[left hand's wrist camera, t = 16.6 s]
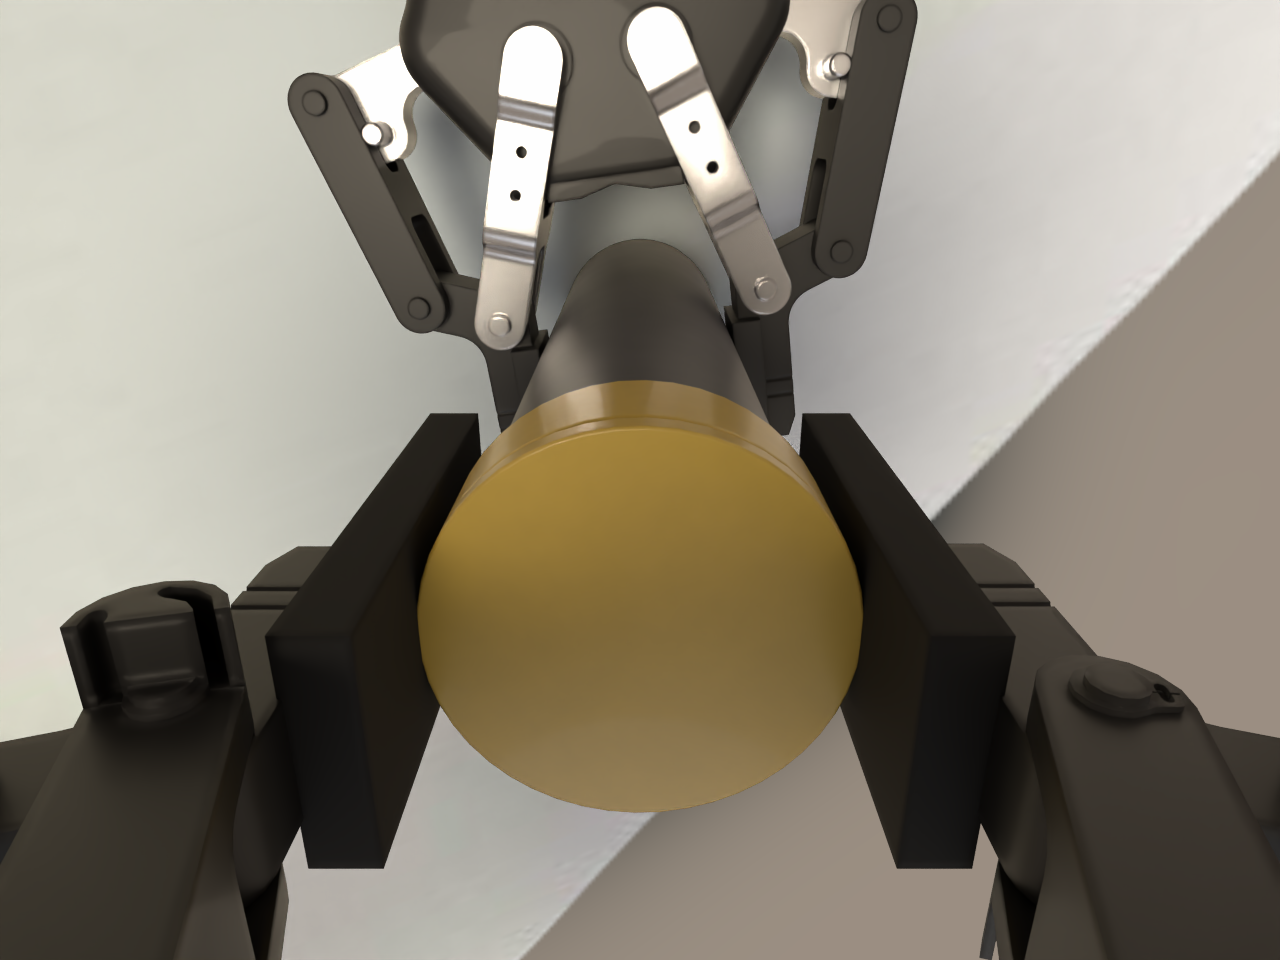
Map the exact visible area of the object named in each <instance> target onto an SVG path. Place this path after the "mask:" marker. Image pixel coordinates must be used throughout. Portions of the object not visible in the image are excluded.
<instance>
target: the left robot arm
mask: <svg viewBox="0 0 1280 960" xmlns="http://www.w3.org/2000/svg"><path fill="white" fill-rule="evenodd" d="M799 456H800V457H801V459H802V460H803V461H804V463H805V465H806V466H807V468H808V470H809V471H810V473H811V475H812V476H813V478H814V480H815V481H816V483H817V485H818V487H819V489H820V491H821V493H822V495H823V497H824V499H825V501H826V503H827V505H828V507H829V509H830V511H831V513H832V515H833V517H834V519H835V521H836V523H837V525H838V527H839V530H840V531H841V533H842V535H843V537H844V539H845V541H846V544H847V546H848V548H849V551H850V553H851V556H852V558H853V561H854V563H855V565H856V569H857V573H858V577H859V581H860V586H861V590H862V598H863V623H862V633H861V642H860V650H859V658H858V664H857V668H856V671H855V673H854V676H853V679H852V681H851V684H850V687H849V689H848V692H847V694H846V695H845V697H844V699H843V701H842V703H841V704H840V707H841V709H842V712H843V715H844V718H845V721H846V724H847V727H848V730H849V732H850V735H851V738H852V741H853V744H854V747H855V750H856V753H857V755H858V758H859V761H860V764H861V767H862V770H863V773H864V776H865V778H866V781H867V784H868V787H869V790H870V793H871V796H872V798H873V801H874V804H875V807H876V810H877V813H878V816H879V819H880V821H881V824H882V827H883V830H884V833H885V836H886V839H887V841H888V844H889V847H890V850H891V853H892V856H893V859H894V862H895V864H896V867H897V869H972V866H973V861H974V856H975V851H976V845H977V840H978V835H979V829H980V824H982V826H983V828H984V830H985V832H986V834H987V836H988V838H989V840H990V842H991V844H992V846H993V848H994V850H995V852H996V854H997V856H998V864H997V869H996V873H995V878H994V884H993V888H992V893H991V898H990V903H989V908H988V913H987V918H986V923H985V928H984V933H983V937H982V944H981V951H980V958H984V959H988V960H992V956H993V951H994V946H995V942H996V941H997V947H998V954H999V960H1280V738H1276V737H1271V736H1265V735H1260V734H1255V733H1250V732H1245V731H1239V730H1234V729H1228V728H1223V727H1219V726H1215V725H1210V724H1207V723H1205V722H1204V720H1203V718H1202V716H1201V715H1200V713H1199V711H1198V709H1197V707H1196V706H1195V705H1194V704H1193V703H1192V702H1191V700H1190V699H1189V698H1188V697H1187V696H1186V695H1185V693H1184V692H1183V691H1182V690H1181V689H1179V688H1178V687H1176V686H1174V685H1173V684H1171V683H1170V682H1168V681H1167V680H1165V679H1164V678H1162V677H1161V676H1159V675H1157V674H1155V673H1152V672H1150V671H1148V670H1145V669H1143V668H1140V667H1138V666H1135V665H1133V664H1130V663H1127V662H1123V661H1119V660H1114V659H1110V658H1105V657H1101V656H1097V655H1096V654H1095V652H1094V651H1093V650H1092V649H1091V648H1090V647H1089V646H1088V644H1087V643H1086V642H1085V641H1084V640H1083V639H1082V638H1081V636H1080V635H1079V634H1078V633H1077V632H1076V631H1075V630H1074V628H1073V627H1072V626H1071V625H1070V624H1069V623H1068V622H1067V620H1066V619H1065V618H1064V617H1063V616H1062V615H1061V614H1060V612H1059V611H1058V610H1057V609H1056V608H1055V607H1051V606H1050V601H1049V600H1048V599H1047V598H1046V596H1045V595H1044V594H1043V593H1042V592H1041V591H1040V590H1039V588H1035V587H1034V583H1033V582H1032V580H1031V579H1030V578H1029V577H1028V576H1027V575H1026V574H1025V572H1024V571H1023V570H1022V569H1021V568H1020V567H1019V566H1018V564H1017V563H1016V562H1014V561H1013V560H1011V559H1009V558H1007V557H1006V556H1004V555H1002V554H1000V553H999V552H997V551H995V550H994V549H992V548H990V547H988V546H986V545H985V544H947V543H946V541H945V540H944V539H943V537H942V536H941V535H940V533H939V532H938V531H937V529H936V528H935V527H934V525H933V524H932V523H931V521H930V520H929V519H928V517H927V516H926V515H925V513H924V512H923V511H922V509H921V508H920V507H919V505H918V504H917V503H916V501H915V500H914V499H913V497H912V496H911V494H910V493H909V492H908V490H907V489H906V488H905V486H904V485H903V484H902V482H901V481H900V480H899V478H898V477H897V476H896V474H895V473H894V472H893V470H892V469H891V468H890V466H889V465H888V464H887V462H886V461H885V460H884V458H883V457H882V456H881V454H880V453H879V452H878V450H877V449H876V448H875V446H874V445H873V444H872V442H871V441H870V440H869V438H868V437H867V436H866V434H865V433H864V432H863V430H862V429H861V428H860V426H859V425H858V424H857V422H856V421H855V420H854V418H853V417H852V416H851V414H850V413H803V414H802V427H801V441H800V454H799ZM480 457H481V447H480V433H479V420H478V413H431V414H430V415H429V416H428V418H427V419H426V420H425V422H424V423H423V424H422V426H421V427H420V428H419V430H418V431H417V432H416V434H415V435H414V436H413V438H412V439H411V440H410V442H409V443H408V444H407V446H406V447H405V448H404V450H403V451H402V452H401V454H400V455H399V456H398V458H397V459H396V460H395V462H394V463H393V464H392V466H391V467H390V468H389V470H388V471H387V472H386V474H385V475H384V477H383V478H382V479H381V481H380V482H379V483H378V485H377V486H376V487H375V489H374V490H373V491H372V493H371V494H370V495H369V497H368V498H367V499H366V501H365V502H364V503H363V505H362V506H361V507H360V509H359V510H358V511H357V513H356V514H355V515H354V517H353V518H352V519H351V521H350V522H349V523H348V525H347V526H346V527H345V529H344V530H343V531H342V533H341V534H340V535H339V537H338V538H337V539H336V541H335V542H334V543H333V545H332V546H298V547H296V548H294V549H293V550H291V551H289V552H287V553H286V554H284V555H282V556H280V557H279V558H277V559H275V560H274V561H272V562H270V563H268V564H267V565H265V566H264V568H263V569H262V570H261V571H260V572H259V573H258V574H257V576H256V577H255V578H254V579H253V580H252V581H251V583H250V584H249V585H248V586H247V591H243V592H242V593H241V594H240V595H239V596H238V598H237V599H236V600H235V601H234V602H233V603H232V604H231V608H230V603H229V598H228V594H227V593H226V592H224V591H223V590H221V589H220V588H219V587H217V586H216V585H213V584H208V583H203V582H197V581H164V582H159V583H153V584H148V585H143V586H138V587H133V588H130V589H127V590H124V591H121V592H118V593H115V594H112V595H109V596H106V597H103V598H101V599H99V600H97V601H96V602H94V603H92V604H90V605H88V606H86V607H85V608H83V609H81V610H79V611H77V612H76V613H75V614H74V615H73V616H72V617H71V618H69V619H68V620H67V621H66V622H65V623H64V624H63V625H62V626H61V627H60V630H61V634H62V637H63V641H64V644H65V648H66V651H67V654H68V658H69V661H70V665H71V668H72V672H73V675H74V678H75V682H76V685H77V689H78V692H79V696H80V699H81V703H82V706H83V710H82V712H81V714H80V716H79V718H78V720H77V722H76V724H75V725H74V727H73V728H70V729H66V730H62V731H57V732H52V733H47V734H41V735H36V736H31V737H26V738H20V739H15V740H10V741H5V742H0V960H281V957H282V949H283V942H284V934H285V926H286V919H287V911H288V904H289V898H288V891H287V884H286V878H285V874H284V869H283V864H282V862H283V860H284V858H285V856H286V854H287V852H288V850H289V848H290V846H291V844H292V842H293V840H294V838H295V836H296V834H297V832H298V830H299V828H300V826H301V832H302V837H303V842H304V848H305V853H306V858H307V863H308V869H384V866H385V863H386V860H387V857H388V855H389V852H390V849H391V846H392V843H393V840H394V837H395V834H396V832H397V829H398V826H399V823H400V820H401V817H402V814H403V812H404V809H405V806H406V803H407V800H408V797H409V794H410V791H411V789H412V786H413V783H414V780H415V777H416V774H417V771H418V768H419V766H420V763H421V760H422V757H423V754H424V751H425V748H426V745H427V743H428V740H429V737H430V734H431V731H432V728H433V725H434V723H435V720H436V717H437V714H438V711H439V708H440V704H439V702H438V700H437V698H436V696H435V694H434V692H433V690H432V688H431V685H430V683H429V681H428V678H427V675H426V672H425V668H424V665H423V662H422V654H421V646H420V637H419V627H418V617H417V602H418V595H419V589H420V582H421V578H422V575H423V572H424V568H425V565H426V562H427V559H428V556H429V554H430V552H431V549H432V547H433V545H434V543H435V541H436V539H437V537H438V535H439V533H440V531H441V529H442V527H443V525H444V523H445V521H446V519H447V517H448V515H449V513H450V511H451V509H452V507H453V505H454V503H455V501H456V499H457V497H458V495H459V493H460V491H461V489H462V487H463V485H464V483H465V481H466V479H467V477H468V475H469V473H470V472H471V470H472V469H473V467H474V466H475V464H476V463H477V461H478V460H479V458H480Z"/></svg>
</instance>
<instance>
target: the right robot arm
mask: <svg viewBox="0 0 1280 960" xmlns="http://www.w3.org/2000/svg"><path fill="white" fill-rule="evenodd" d="M917 18H918V13H917V6H916V3H915V1H914V0H407V1H406V6H405V11H404V14H403V17H402V21H401V25H400V32H399V45H397V46H395V47H393V48H391V49H389V50H387V51H385V52H383V53H381V54H379V55H376V56H374V57H372V58H370V59H368V60H366V61H364V62H362V63H360V64H358V65H356V66H354V67H352V68H349V69H347V70H345V71H343V72H341V73H339V74H337V75H333V76H330V75H324V74H319V73H306V74H303V75H301V76H299V77H298V78H296V79H295V80H294V81H293V83H292V84H291V86H290V89H289V92H288V106H289V110H290V112H291V115H292V117H293V118H294V120H295V122H296V124H297V126H298V128H299V130H300V132H301V134H302V136H303V138H304V140H305V142H306V144H307V145H308V147H309V149H310V151H311V153H312V155H313V157H314V159H315V161H316V163H317V165H318V167H319V169H320V171H321V172H322V174H323V176H324V178H325V180H326V182H327V184H328V186H329V188H330V190H331V192H332V194H333V196H334V197H335V199H336V201H337V203H338V205H339V207H340V209H341V211H342V213H343V215H344V217H345V219H346V221H347V223H348V224H349V226H350V228H351V230H352V232H353V234H354V236H355V238H356V240H357V242H358V244H359V246H360V248H361V250H362V251H363V253H364V255H365V257H366V259H367V261H368V263H369V265H370V267H371V269H372V271H373V273H374V275H375V276H376V278H377V280H378V282H379V284H380V286H381V288H382V290H383V292H384V294H385V296H386V298H387V300H388V302H389V303H390V305H391V307H392V309H393V311H394V313H395V315H396V317H397V319H398V320H399V322H400V323H401V324H402V325H403V326H404V327H405V328H406V329H408V330H410V331H412V332H415V333H429V332H432V331H436V332H441V333H446V334H450V335H455V336H460V337H463V338H466V339H468V340H470V341H471V342H473V343H474V344H475V345H476V346H478V348H479V349H480V350H481V351H482V353H483V355H484V357H485V359H486V363H487V367H488V372H489V377H490V382H491V387H492V392H493V397H494V401H495V406H496V411H497V414H498V421H499V426H500V429H501V433H502V432H503V431H505V430H506V429H507V428H508V427H510V426H511V423H512V421H513V419H514V417H515V414H516V412H517V410H518V407H519V405H520V403H521V401H522V398H523V396H524V394H525V392H526V389H527V387H528V385H529V383H530V380H531V378H532V376H533V374H534V371H535V369H536V367H537V365H538V362H539V360H540V358H541V356H542V353H543V351H544V349H545V346H546V344H547V342H548V340H549V336H548V330H540V331H538V325H537V320H536V311H537V304H538V298H539V291H540V285H541V279H542V272H543V266H544V259H545V253H546V247H547V243H548V239H549V235H550V230H551V224H552V218H553V212H554V205H555V202H560V201H567V200H574V199H581V198H584V197H586V196H588V195H591V194H593V193H595V192H597V191H600V190H602V189H604V188H606V187H609V186H611V185H614V184H621V185H628V186H635V187H643V188H650V189H652V188H659V187H666V186H673V185H680V184H686V187H687V189H688V191H689V193H690V195H691V197H692V200H693V202H694V204H695V206H696V208H697V210H698V212H699V215H700V217H701V219H702V221H703V223H704V225H705V227H706V229H707V231H708V233H709V236H710V238H711V240H712V242H713V244H714V246H715V249H716V251H717V253H718V255H719V257H720V259H721V262H722V264H723V266H724V268H725V270H726V273H727V275H728V277H729V279H730V290H731V301H732V305H730V306H724V313H725V323H726V328H727V330H728V332H729V335H730V337H731V339H732V341H733V344H734V346H735V348H736V350H737V353H738V355H739V357H740V359H741V362H742V364H743V366H744V369H745V371H746V373H747V375H748V378H749V380H750V382H751V384H752V387H753V389H754V391H755V393H756V396H757V398H758V400H759V402H760V405H761V407H762V409H763V411H764V414H765V416H766V418H767V420H768V423H769V425H770V426H771V427H772V428H774V429H775V430H776V431H777V432H778V433H779V434H780V435H781V436H782V435H789V432H790V429H791V426H792V423H793V420H794V417H795V405H794V394H793V379H792V364H791V350H790V337H789V314H790V311H791V308H792V306H793V304H794V302H795V301H796V300H797V299H798V297H799V296H800V295H802V294H803V293H804V292H806V291H807V290H809V289H811V288H813V287H815V286H817V285H819V284H821V283H823V282H825V281H827V280H829V279H831V278H845V277H848V276H850V275H852V274H854V273H855V272H857V271H858V270H859V269H860V268H861V266H862V265H863V263H864V261H865V259H866V256H867V251H868V247H869V242H870V238H871V233H872V228H873V224H874V219H875V214H876V210H877V205H878V200H879V196H880V191H881V186H882V182H883V177H884V173H885V168H886V163H887V159H888V154H889V149H890V145H891V140H892V135H893V131H894V126H895V122H896V117H897V112H898V108H899V103H900V98H901V94H902V89H903V84H904V80H905V75H906V70H907V66H908V61H909V57H910V52H911V47H912V43H913V38H914V33H915V29H916V24H917ZM779 37H782V38H785V39H786V40H788V41H789V42H790V43H791V44H792V45H793V46H794V47H795V49H796V51H797V53H798V56H799V61H800V72H799V74H800V80H801V83H802V85H803V87H804V88H805V90H806V91H807V92H808V93H809V94H811V95H812V96H814V97H817V98H821V99H823V101H822V106H821V112H820V117H819V122H818V128H817V133H816V139H815V144H814V149H813V155H812V160H811V166H810V171H809V177H808V182H807V187H806V193H805V198H804V204H803V209H802V214H801V220H800V225H799V227H797V228H795V229H794V230H792V231H790V232H788V233H786V234H784V235H782V236H780V237H778V238H776V239H775V240H773V238H772V236H771V234H770V231H769V229H768V227H767V225H766V222H765V220H764V218H763V215H762V213H761V210H760V207H759V203H758V200H757V197H756V194H755V192H754V190H753V187H752V185H751V183H750V180H749V178H748V176H747V173H746V171H745V169H744V166H743V164H742V162H741V160H740V157H739V155H738V153H737V150H736V148H735V146H734V143H733V141H732V139H731V136H730V134H729V130H730V128H731V126H732V124H733V122H734V121H735V119H736V117H737V115H738V113H739V111H740V109H741V107H742V106H743V104H744V102H745V100H746V98H747V96H748V94H749V92H750V91H751V89H752V87H753V85H754V83H755V81H756V79H757V77H758V75H759V74H760V72H761V70H762V68H763V66H764V64H765V62H766V60H767V59H768V57H769V55H770V53H771V51H772V49H773V47H774V45H775V44H776V42H777V40H778V38H779ZM423 91H424V92H425V93H426V94H427V96H428V97H429V98H430V99H431V100H432V101H433V102H434V103H435V104H436V105H437V106H438V107H439V108H440V109H441V110H442V111H443V112H444V113H445V114H446V115H447V116H448V117H449V119H450V120H451V121H452V122H453V123H454V124H455V125H456V126H457V127H458V128H459V129H460V130H461V131H462V132H463V133H464V134H465V135H466V136H467V137H468V138H469V139H470V140H471V142H472V143H473V144H474V145H475V146H476V147H477V148H478V149H479V150H480V151H481V152H482V153H483V154H484V155H485V156H486V157H487V158H488V159H489V160H490V161H491V162H492V163H491V171H490V179H489V187H488V194H487V202H486V210H485V218H484V226H483V239H482V240H483V260H482V268H481V275H480V279H477V278H472V277H468V276H463V275H459V274H458V272H457V270H456V268H455V266H454V264H453V262H452V260H451V258H450V256H449V253H448V251H447V249H446V247H445V245H444V243H443V241H442V239H441V237H440V235H439V233H438V231H437V229H436V227H435V224H434V222H433V220H432V218H431V216H430V214H429V212H428V210H427V208H426V206H425V204H424V202H423V200H422V198H421V196H420V193H419V191H418V189H417V187H416V185H415V183H414V181H413V179H412V177H411V175H410V173H409V171H408V169H407V167H406V164H405V162H404V159H405V158H407V157H408V156H409V155H411V153H412V152H413V150H414V149H415V146H416V143H417V131H416V127H415V124H414V121H413V106H414V103H415V101H416V99H417V97H418V96H419V95H420V94H421V93H422V92H423ZM684 182H685V183H684Z"/></svg>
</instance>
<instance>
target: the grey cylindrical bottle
mask: <svg viewBox="0 0 1280 960" xmlns="http://www.w3.org/2000/svg"><path fill="white" fill-rule="evenodd" d="M635 380H650V381H661V382H673V383H677V384H682V385H686V386H691V387H695V388H700V389H703V390H705V391H708V392H711V393H714V394H716V395H719V396H722V397H725V398H727V399H729V400H730V401H732V402H734V403H736V404H738V405H740V406H742V407H744V408H746V409H748V410H749V411H751V412H752V413H754V414H755V415H756V416H758V417H759V418H761V419H762V420H764V421H765V422H766V423H768V420H767V418H766V416H765V414H764V411H763V409H762V407H761V405H760V402H759V400H758V398H757V396H756V393H755V391H754V389H753V387H752V384H751V382H750V380H749V378H748V375H747V373H746V371H745V369H744V366H743V364H742V362H741V359H740V357H739V355H738V353H737V350H736V348H735V346H734V344H733V341H732V339H731V337H730V335H729V332H728V330H727V328H726V326H725V323H724V321H723V319H722V317H721V314H720V312H719V310H718V308H717V305H716V303H715V301H714V299H713V296H712V294H711V292H710V290H709V287H708V285H707V283H706V281H705V279H704V277H703V275H702V273H701V272H700V270H699V269H698V268H697V266H696V265H695V264H694V263H693V262H692V261H691V260H690V259H689V258H688V257H687V256H686V255H684V254H683V253H682V252H680V251H679V250H677V249H675V248H673V247H672V246H669V245H667V244H664V243H661V242H657V241H653V240H645V239H636V240H628V241H623V242H619V243H616V244H613V245H611V246H609V247H607V248H605V249H603V250H602V251H600V252H598V253H597V254H596V255H595V256H593V257H592V258H591V259H590V260H589V261H588V262H587V263H586V264H585V265H584V267H583V268H582V269H581V271H580V272H579V274H578V275H577V277H576V279H575V281H574V283H573V285H572V288H571V290H570V292H569V294H568V297H567V299H566V301H565V304H564V306H563V308H562V310H561V313H560V315H559V317H558V319H557V322H556V324H555V326H554V328H553V331H552V333H551V335H550V337H549V340H548V342H547V344H546V346H545V349H544V351H543V353H542V356H541V358H540V360H539V362H538V365H537V367H536V369H535V371H534V374H533V376H532V378H531V380H530V383H529V385H528V387H527V389H526V392H525V394H524V396H523V398H522V401H521V403H520V405H519V407H518V410H517V412H516V414H515V417H514V419H513V421H512V423H511V425H512V424H513V423H514V422H516V421H517V420H518V419H519V418H521V417H522V416H524V415H525V414H527V413H529V412H530V411H532V410H533V409H535V408H537V407H538V406H540V405H541V404H544V403H546V402H548V401H550V400H552V399H555V398H557V397H559V396H561V395H564V394H566V393H569V392H572V391H575V390H579V389H582V388H585V387H589V386H592V385H598V384H604V383H610V382H616V381H635ZM768 424H769V423H768Z"/></svg>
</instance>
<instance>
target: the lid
mask: <svg viewBox="0 0 1280 960" xmlns="http://www.w3.org/2000/svg"><path fill="white" fill-rule="evenodd" d="M417 617H418V627H419V637H420V646H421V654H422V662H423V665H424V668H425V672H426V675H427V678H428V681H429V683H430V685H431V688H432V690H433V692H434V694H435V696H436V698H437V700H438V702H439V704H440V706H441V707H442V709H443V710H444V712H445V713H446V715H447V717H448V718H449V720H450V721H451V723H452V724H453V726H454V727H455V728H456V729H457V730H458V731H459V732H460V734H461V735H462V736H463V737H464V738H465V739H466V741H467V742H468V743H469V744H470V745H471V746H472V747H473V748H474V749H475V750H477V751H478V752H479V753H480V754H481V755H482V756H483V757H484V758H485V759H487V760H488V761H489V762H490V763H492V764H493V765H494V766H496V767H497V768H499V769H500V770H502V771H503V772H504V773H506V774H507V775H509V776H510V777H512V778H514V779H516V780H518V781H519V782H521V783H523V784H525V785H527V786H529V787H530V788H532V789H534V790H537V791H539V792H542V793H544V794H547V795H549V796H552V797H554V798H556V799H560V800H563V801H567V802H570V803H574V804H577V805H581V806H585V807H591V808H596V809H602V810H608V811H621V812H634V813H636V812H663V811H671V810H678V809H686V808H690V807H695V806H699V805H703V804H707V803H711V802H715V801H717V800H720V799H723V798H726V797H729V796H731V795H734V794H737V793H739V792H741V791H743V790H746V789H748V788H750V787H752V786H754V785H756V784H758V783H760V782H762V781H763V780H765V779H766V778H768V777H770V776H771V775H773V774H774V773H776V772H778V771H779V770H781V769H782V768H784V767H785V766H786V765H787V764H789V763H790V762H791V761H792V760H794V759H795V758H796V757H797V756H798V755H800V754H801V753H802V752H803V751H804V750H805V749H806V748H807V747H808V746H809V745H810V744H811V743H812V742H813V741H814V740H815V739H816V738H817V737H818V736H819V735H820V734H821V732H822V731H823V730H824V728H825V727H826V726H827V724H828V723H829V722H830V720H831V719H832V718H833V716H834V715H835V713H836V712H837V710H838V708H839V706H840V704H841V703H842V701H843V699H844V697H845V695H846V694H847V692H848V689H849V687H850V684H851V681H852V679H853V676H854V673H855V671H856V668H857V664H858V658H859V650H860V642H861V633H862V623H863V598H862V590H861V586H860V581H859V577H858V573H857V569H856V565H855V563H854V561H853V558H852V556H851V553H850V551H849V548H848V546H847V544H846V541H845V539H844V537H843V535H842V533H841V531H840V530H839V527H838V525H837V523H836V521H835V519H834V517H833V515H832V513H831V511H830V509H829V507H828V505H827V503H826V501H825V499H824V497H823V495H822V493H821V491H820V489H819V487H818V485H817V483H816V481H815V480H814V478H813V476H812V475H811V473H810V471H809V470H808V468H807V466H806V465H805V463H804V461H803V460H802V459H801V457H800V456H799V455H798V454H797V453H796V451H795V450H794V449H793V448H792V446H791V445H790V444H789V443H788V441H786V440H785V439H784V438H783V437H782V436H781V435H780V434H779V433H778V432H777V431H776V430H775V429H774V428H772V427H771V426H770V425H769V424H768V423H766V422H765V421H764V420H762V419H761V418H759V417H758V416H756V415H755V414H754V413H752V412H751V411H749V410H748V409H746V408H744V407H742V406H740V405H738V404H736V403H734V402H732V401H730V400H729V399H727V398H725V397H722V396H719V395H716V394H714V393H711V392H708V391H705V390H703V389H700V388H695V387H691V386H686V385H682V384H677V383H673V382H661V381H650V380H635V381H616V382H610V383H604V384H598V385H592V386H589V387H585V388H582V389H579V390H575V391H572V392H569V393H566V394H564V395H561V396H559V397H557V398H555V399H552V400H550V401H548V402H546V403H544V404H541V405H540V406H538V407H537V408H535V409H533V410H532V411H530V412H529V413H527V414H525V415H524V416H522V417H521V418H519V419H518V420H517V421H516V422H514V423H513V424H512V425H511V426H510V427H508V428H507V429H506V430H505V431H503V432H502V433H501V434H500V435H499V436H498V437H497V438H496V439H495V440H494V442H493V443H492V444H491V445H490V446H489V447H488V448H487V449H486V450H485V451H484V452H483V454H482V455H481V457H480V458H479V460H478V461H477V463H476V464H475V466H474V467H473V469H472V470H471V472H470V473H469V475H468V477H467V479H466V481H465V483H464V485H463V487H462V489H461V491H460V493H459V495H458V497H457V499H456V501H455V503H454V505H453V507H452V509H451V511H450V513H449V515H448V517H447V519H446V521H445V523H444V525H443V527H442V529H441V531H440V533H439V535H438V537H437V539H436V541H435V543H434V545H433V547H432V549H431V552H430V554H429V556H428V559H427V562H426V565H425V568H424V572H423V575H422V578H421V582H420V589H419V595H418V602H417Z"/></svg>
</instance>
